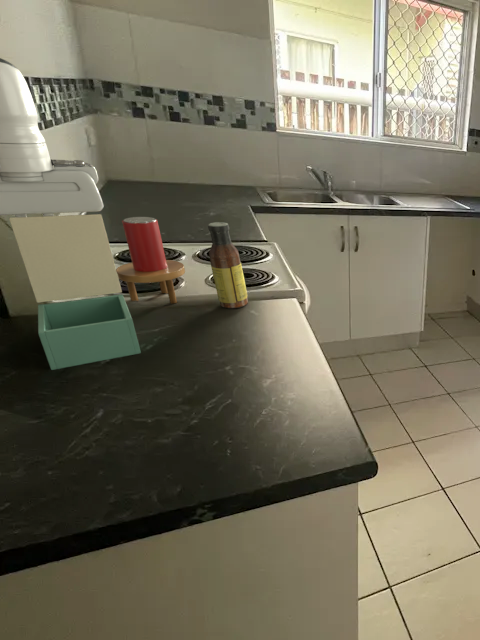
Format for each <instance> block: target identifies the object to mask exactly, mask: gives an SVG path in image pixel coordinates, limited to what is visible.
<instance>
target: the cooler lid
mask: <svg viewBox="0 0 480 640" xmlns="http://www.w3.org/2000/svg"><path fill="white" fill-rule="evenodd" d="M8 220H9V223H10V226H11V229H12V231H13V235H14V237H15V242H16V243H17V246H18V249H19V253H20V256H21V258H22V259H21V260H22V261H23V265H24V267H25V271H26V273H27V276H28V280H29V283H30V286H31V289H32V292H33V295H34V298H35V302H36V303H37V304H39V303H47V302H54V301H63V300H64V301H65V300H71V299H72V300H73V299H79V298H89V297H95V296H96V297H98V296H105V295H114V294H120V293H121V294H122V293H123V290H122V287H121V282H120V279H119V278H118V275H117V272H116V269H117V267H116V264H115V261H114V257H113V253H112V250H111V246H110V242H109V238H108V234H107V231H106V227H105V222H104V220H103V215H102V213H99V214H98V213H96V214H95V213H94V214H93V213H92V214H69V215H67V214H66V215H54V216H27V217H15V216H13V217H9V218H8Z"/></svg>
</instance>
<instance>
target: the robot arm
mask: <svg viewBox="0 0 480 640" xmlns="http://www.w3.org/2000/svg"><path fill="white" fill-rule="evenodd" d="M38 120H39V116H38V111H37V108H36V104H35V100H34V98H33V96H32V93H31V90H30V88H29V85H28V83H27V81H26V79H25V77H24V75H23V74H22V72H21V71H20V69H19V68H18V67H17V66H15V65H14V64H13V63H12V62H9V61H8V60H6V59H3V58H2V57H0V216H12V215H14V217H28V216H27V215H38V214H39V215H40V214H41V215H43V216H55V214H70V213H71V214H72V213H97V212H101V211H102V210H103V209H104V206H105V205H104V202H103V199H102V196H101V193H100V191H99V189H98V187H97V184H98V183H99V180H100V178H99V174H98V170H97V169H96V167H95V166H94V165H92V164H91V163H88V162H85V161H84V160H82V159H73V160H67V159H66V160H65V159H51V154H50V152H49V149H48V145H47V141H46V139H45V137H44V136H43V134H42V132H41V131H40V130H41V129H40V128H39V125H38V124H39V122H38Z"/></svg>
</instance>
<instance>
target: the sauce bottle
mask: <svg viewBox="0 0 480 640" xmlns="http://www.w3.org/2000/svg"><path fill="white" fill-rule="evenodd" d="M207 228H208V231H209V234H210V238H211V246H210V249H209V252H208V255H209V262H210V268H211V273H212V276H213V282H214V287H215V289H216V295H217V299H218V301H219V304H220V307H222V308H224V309H239V308H243V307H245V306H247V305H248V302H249V301H248V291H247V286H246V280H245V275H244V271H243V266H242V262H241V259H240V253H239V249H238V248H236V245H234V244H233V242H232V239H231V236H230V226H229V223H228V222H220V221H215V222H210V223H208V224H207Z"/></svg>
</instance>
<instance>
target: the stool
mask: <svg viewBox="0 0 480 640" xmlns="http://www.w3.org/2000/svg"><path fill="white" fill-rule="evenodd" d="M166 263H167V268H165V269H162V270H158V271H150V272H142V271H136V270H134V268H133V264H132V262H128V263H124V264H122V265H120V266H118V267H116V272H117V275H118V279H119V281H123V282H125V283H126V287H127V291H128V295H129V299H130V301H131V302H136V301H137V302H139V297H138V293H137V288H136V284H149V283H159V287H160V288H159V289H160V292H161V294H162V293H166V294H167V295H168V300H169V304H177V303H178V300H177V295H176V291H175V287H174V282H173V281H174V279H177V278H180V277H182V276H183V275H185V273H186V268H185V265H184V263H182V262H180V261H177V260H172V259H166Z"/></svg>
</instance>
